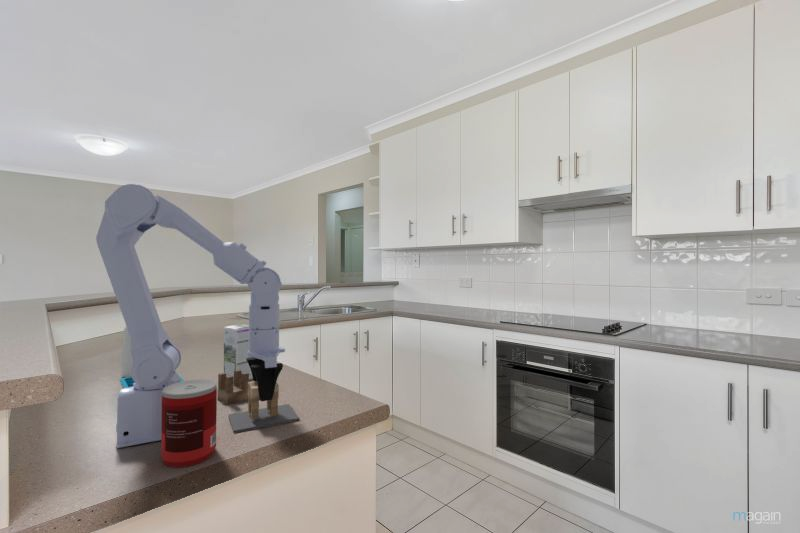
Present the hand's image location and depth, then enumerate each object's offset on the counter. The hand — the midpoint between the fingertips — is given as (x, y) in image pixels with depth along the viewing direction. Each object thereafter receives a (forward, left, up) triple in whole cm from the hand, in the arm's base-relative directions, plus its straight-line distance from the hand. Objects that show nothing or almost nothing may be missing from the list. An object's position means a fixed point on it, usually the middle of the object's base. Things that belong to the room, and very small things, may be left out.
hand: (263, 396), depth 75 cm
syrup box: (-1, +31, -5) cm, 31 cm away
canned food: (-13, -10, -5) cm, 17 cm away
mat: (0, 0, -4) cm, 4 cm away
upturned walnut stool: (-4, +15, -5) cm, 16 cm away
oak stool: (0, 0, -3) cm, 4 cm away
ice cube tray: (-20, +28, -5) cm, 35 cm away
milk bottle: (-25, +50, -5) cm, 56 cm away
